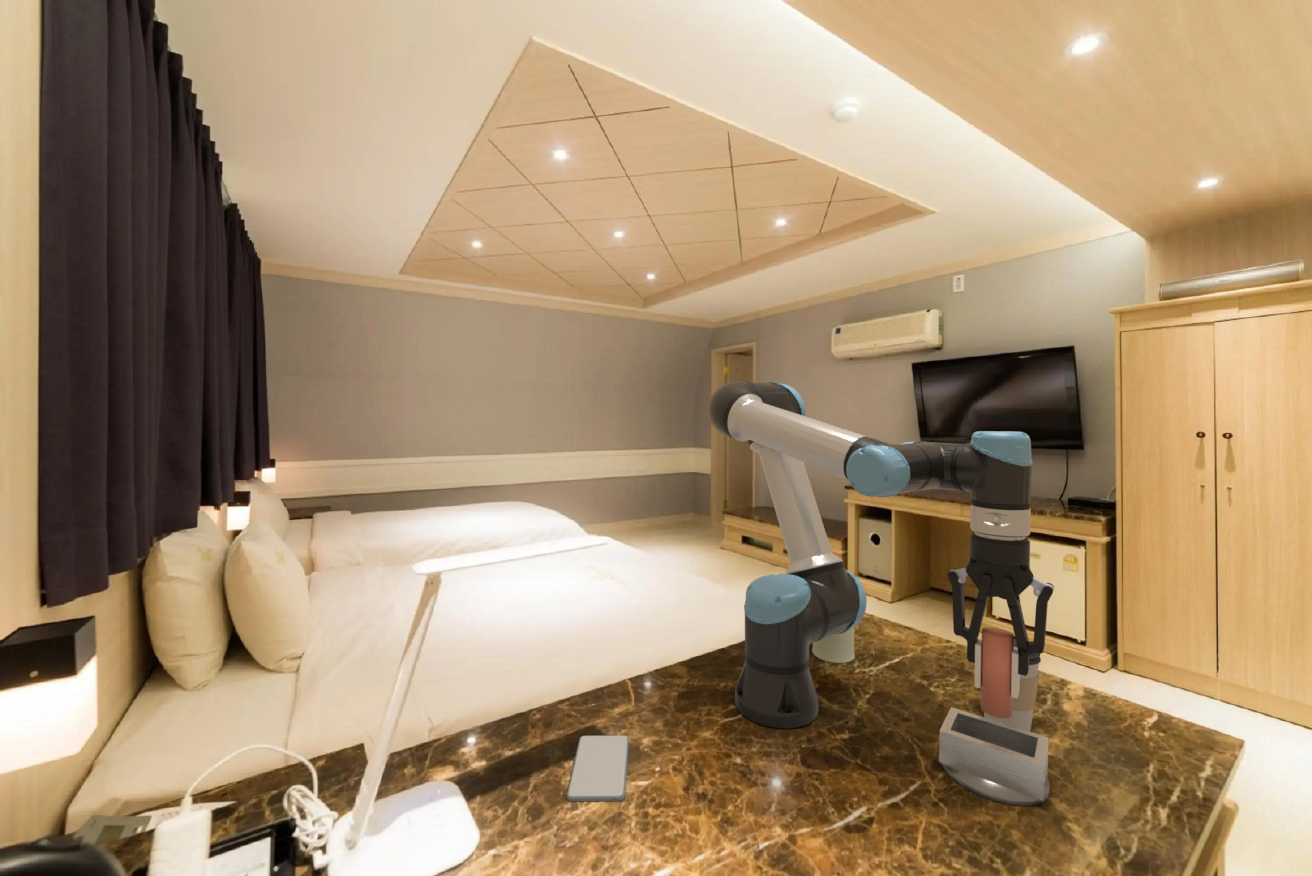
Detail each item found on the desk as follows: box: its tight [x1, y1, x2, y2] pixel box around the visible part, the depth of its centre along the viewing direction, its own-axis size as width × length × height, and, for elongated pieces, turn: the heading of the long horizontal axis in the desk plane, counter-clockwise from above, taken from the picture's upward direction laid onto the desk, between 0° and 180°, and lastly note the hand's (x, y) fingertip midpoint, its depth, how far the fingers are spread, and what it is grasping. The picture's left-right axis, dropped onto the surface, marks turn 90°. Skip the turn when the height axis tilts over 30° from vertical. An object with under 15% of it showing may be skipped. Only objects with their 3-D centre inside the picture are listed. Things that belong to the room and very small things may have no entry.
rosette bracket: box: [938, 707, 1051, 807], centre depth 81 cm, size 14×14×6 cm
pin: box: [980, 626, 1015, 719], centre depth 80 cm, size 4×4×12 cm
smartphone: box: [566, 734, 630, 802], centre depth 83 cm, size 8×1×15 cm
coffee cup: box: [983, 635, 1042, 732], centre depth 94 cm, size 9×9×15 cm
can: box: [811, 627, 856, 664], centre depth 121 cm, size 9×9×12 cm
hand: (996, 688), depth 80 cm, fingers closed on pin, 4 cm apart
